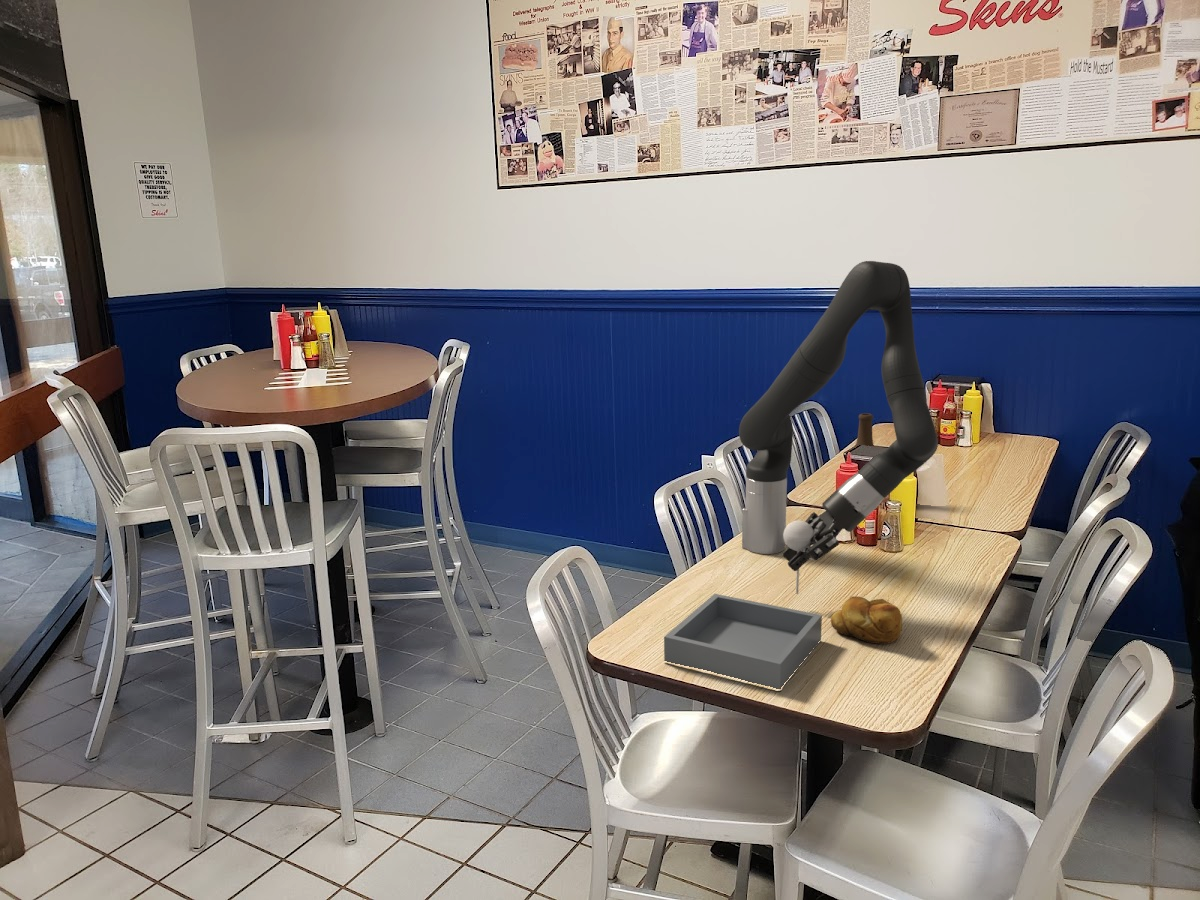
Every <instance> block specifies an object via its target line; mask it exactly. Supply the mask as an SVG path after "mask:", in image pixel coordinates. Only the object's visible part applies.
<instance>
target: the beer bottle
mask: <svg viewBox="0 0 1200 900" xmlns="http://www.w3.org/2000/svg"><path fill="white" fill-rule="evenodd" d="M858 419H859V420H858V421H859V422H858V431H857V438H856V443H855V445H854V446H853V447H852V449H853V448H856V447H857V446H859V445H869V446H875V445H874V440H873V420H874V415H873V414H871V413H868V412H867V413H866V412H864V413H860V414H859V415H858ZM852 449H851V450H852Z"/></svg>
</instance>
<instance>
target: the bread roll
mask: <svg viewBox="0 0 1200 900" xmlns="http://www.w3.org/2000/svg"><path fill="white" fill-rule="evenodd" d="M830 625H831V626H832V628H833V629H834V630H835V631H837V632H838V633H840V634H842V635H845V636H849V637H850V636H851V637H855V638H856V639H859V640H861V641H864V642H866V643H869V642H870V643H871V644H883V645H884V643H885V644H890V643H893V642H894V641H896V640H897V639H898V638H899V637H901V633H902V631H903V629H902V627H903V618H902V613H901V610H900V608H899V607H898V606H896V605H895V604H892V603H891V602H889V601H888V600H886V599H884V598H878V599H872V600H870V601H869V600H868V599H866V598H865V597H862V596H851V597H849V598H848V599H847V600H845V602H844V603H843V604H842V606H841V609H840V610H837V611H835V612H834V613H833V614H832V615H831V616H830ZM870 643H869V644H870Z"/></svg>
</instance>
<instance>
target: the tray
mask: <svg viewBox="0 0 1200 900" xmlns="http://www.w3.org/2000/svg"><path fill="white" fill-rule="evenodd" d="M822 616H823V615H822V614H818V613H813V612H809V611H808V612H807V611H803V610H797V609H793V608H787V607H783V606H778V605H774V604H773V605H772V604H768V603H764V602H758V601H754V600H753V601H752V600H749V599H745V598H743V599H742V598H738V597H733V596H730V595H723V594H718V593H714V594H712V595H711V596H710V597H708V599H706V600H704V602H703V603H701V604H700V605H699V607H697V608H696V609H695V610H694V611H692V612H691V613H690V614H689V615H688V616H686V617H685V618H684V619H683V620H682V621H681V622H679V624H677V625H675V626H674V628H672V629H671V630H670V631H669V632H668V633H667V634H666V635H664V636H663V647H664V648H663V649H664V650H663V652H664V656H663V657H664V658H663V659H664V661H667V662H671V663H675V664H680V665H684V666H689V667H694V668H698V669H703V670H707V671H711V672H714V673H717V674H722V675H726V676H730V677H734V678H738V679H741V680H745V681H748V682H752V683H757V684H761V685H765V686H770V687H773V688H776V689H781V687H782V686H783V685H784V683H785V682H786V681H787V680H788V679H789V677H790V676H791V675H792V674H793V673H794V671H795V670H796V669H797V668H798V667H799V665H800V664H801V663H802V662H803V661H804V659H805V658H806V657H807V656H808V655H809V653H810V652H811V651H812V650H813V648H814V647H815V646H816V645H817V644H818V642H819V641H820V640H821V641H822V627H823V626H822V623H823V622H822V618H823V617H822ZM821 641H820V642H821ZM818 645H819V644H818ZM818 645H817V646H818ZM817 646H816V647H817ZM813 651H814V650H813ZM813 651H812V652H813ZM809 656H810V655H809ZM809 656H808V657H809ZM804 662H805V661H804Z"/></svg>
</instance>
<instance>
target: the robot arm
mask: <svg viewBox="0 0 1200 900" xmlns="http://www.w3.org/2000/svg"><path fill="white" fill-rule="evenodd" d="M869 310H870V311H871V310H873V311H879V314H880V316H881V318H882V321H883V324H884V330H885V344H884V348H883V354H882V359H881V368H880V369H881V372H880V373H881V378H882V383H883V388H884V391H885V395H886V400H887V403H888V406H889V408H890V410H891V415H892V416H891V417H892V421H893V428H894V432H895V437H896V440H894V441H893V442H892V443H891V444H890V445H889V446H888V447H887V448H886V449H885V450H884V451H883V452H882V453H878V455H876V456H875V457H873V458H872V459H871V460H870V461H869V462H868V463H866V464H865V465H864V466H863V467H862V468H861V469H860V470H859V471H858V473H856V474H854V475H853V476H852V477H850V478H849V479H848V478H847V480H845V481H844V482H843V483H842V484H840V486H839V487H838V488H837V489H835V491H834V492H833V493H832V494H830V495H829V496H828V498H826V499H825V500H824V501H823V502H822V503H821V506H822V509H824V512H822V513H821V514H819V515H818V514H817V513H816V512H814V511H813V512H812V513H811V514H810V515H809V516H808V517H807V518H806V519H805V521H804V522H807V523H808V524H809V525H810V526H811V527H812V528H813V530H814V531H813V534H812V536H811V538H810V542H809V543H808V544H807V545H806V546H805V547H804V548H803V549H802V551H801V550H800V551H799V552H798V553H797V551H795V550H793V549H791V548H789V547H788V546H787V548H786V543H785V541H784V537H783V533H784V530H785V528H786V526H787V491H788V490H787V488H788V487H787V486H788V469H789V467H790V465H791V463H792V462H791V461H792V450H793V437H794V433H793V432H794V429H793V422H792V421H793V420H792V418H791V416H790V414H791V413H792V412H794V411H795V410H796V409H797V408H798V407H799V406H801V405H802V404H804V403H805V402H807V401H808V400H809V399H810V398H812V397H814V395H816V394H817V393H818V392H819V391H820V390H822V389H823V388H824V387H825V385H827V384H828V383H829V381H830V380H831V379H832V378H833V376H834V375H835V374H836V373H837V371H838V370H839V369H840V367H841V366H842V364H843V362H844V359H845V354H846V350H847V344H848V343H847V341H848V336H849V333H850V332H851V330H852V328H853V327H854V326H855V325H856V324H857V322H858V321H859V320H860V318H861V317H862V316H863V315H864V314H865V313H866V312H867V311H869ZM913 318H914V317H913V310H912V297H911V287H910V282H909V277H908V275H907V273H906V271H905V270H904V268H903V267H901V265H898V264H897V263H891V262H884V261H883V262H881V261H876V260H864V261H862V262H859V263H857V264H856V265H855V266H854V267H853V268H852V269H851V270H850V271H849V272H848V274H847V275H846V277H845V278H844V280H843V281H842V282H841V285H840V286H839V288H838V290H837V291H836V293H835V295H834V296H833V298H832V300H831V301H830V303H829V305H828V306H827V308H826V309H825V311H824V313H822V316H820V318H819V320H818V321H817V322H816V324H815V325H814V327H813V329H812V330H811V331H810V332H809V334H808V335H807V336H806V338H805V339H804V340H803V341H802V342H801V343H800V345H799V347H797V349H796V351H795V352H794V354H792V355H791V357H790V359H789V361H788V362H787V363H786V365H785V366H784V367H783V368H782V370H781V371H780V373H779V374H778V375H777V377H776V378H775V380H774V381H773V382H772V384H771V385H770V387H768V389H767V390H766V391H765V393H764V394H763V395H762V396H761V397H760V398H759V399H758V400H757V401H756V402H755V403H754V404H753V406H751V408H749V410H748V411H747V412H746V413H745V414H744V416H743V417H742V419H741V421H740V423H739V426H738V427H739V428H738V436H739V439H740V442H741V444H742V445H743V447H745V448H746V449H748V450H750V451H756V454H755V456H754V457H752V459H751V460H750V461H749V462H748V463H747V465H746V469H745V507H744V508H742V515H741V517H742V521H741V523H742V530H741V531H742V532H741V533H742V534H741V537H742V539H741V540H742V541H741V542H742V543H741V548H742V549H746V550H748V551H749V552H752V553H756V554H761V555H763V554H764V555H770V554H772V555H774V554H778V553H781V552H782V554H781V555H782V557H784V559H786V560H787V561H788V562H787V565H788V567H789V568H791V570H792V571H794V572H797V570H798V569H799V570H800V568H801V567H802V566H803V565H804V564H806V563H807V562H808V561H809V560H814V561H815V562H816V561H818V560H820V559H821V558H823V557H824V556H825V555H827V554H828V553H830V552H831V551H832V550H833V549H835V548H836V547H838V546H839V545H840V541H839V540H838V539H837V536H838V535H839V534H840V533H841V531H842V530H845V531H846V532H848V533H850V532H852V531H854V529H856V528H857V526H859V524H861V523H862V522H863V521H864V520H865V519H866V518H867V517H868V516H870V515H871V513H873V512H874V511H875V510H876V508H878V507H879V505H880V504H881V502H883V500H884V499H885V498H886V497H887V496H889V495H890V494H891V493H892V492H893V491H894V490H895V489H896V488H897V487H898V486H899V485H900V484H901V483H902V482H903V481H904V480H905V479H906V478H907V477H909V476H910V475H912V474H913V473H914V472H915V471H917V470H918V469H920V468H921V467H922V466H923V465H924V464H926V463H927V462H928V461H929V460H930V459H931V458H932V457H933V456H934V455H935V453H936V452H937V451H938V446H939V439H938V435H937V431H936V427H935V425H934V421H933V417H932V415H931V412H930V409H929V406H928V403H927V401H928V399H927V393H926V388H925V384H924V380H923V376H922V373H921V369H920V365H919V361H918V355H917V350H916V344H915V343H916V341H915V332H914V330H915V329H914V320H913Z"/></svg>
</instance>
